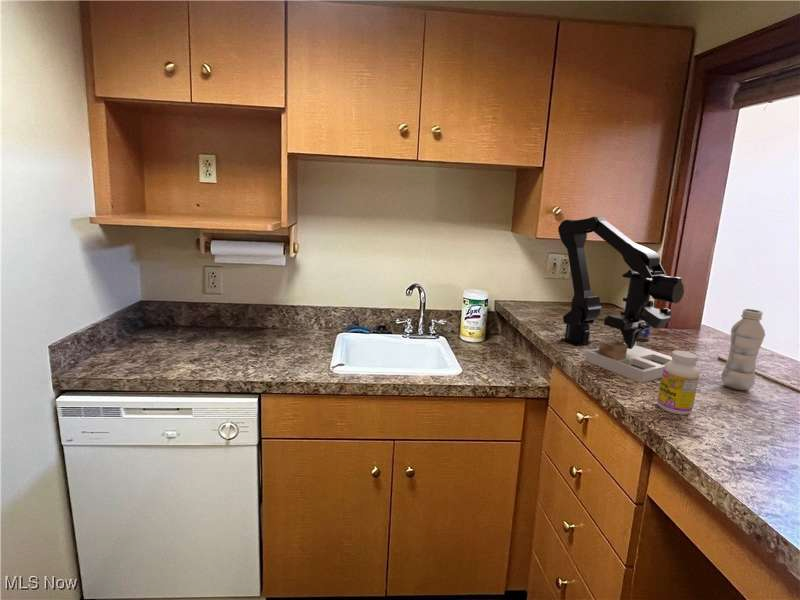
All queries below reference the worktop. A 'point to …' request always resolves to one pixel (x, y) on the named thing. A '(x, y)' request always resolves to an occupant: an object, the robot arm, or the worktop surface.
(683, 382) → the supplement bottle
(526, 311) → the worktop surface
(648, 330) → the pill bottle
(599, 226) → the robot arm
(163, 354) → the worktop surface
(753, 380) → the plastic bottle
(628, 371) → the trap box
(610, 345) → the walnut block
